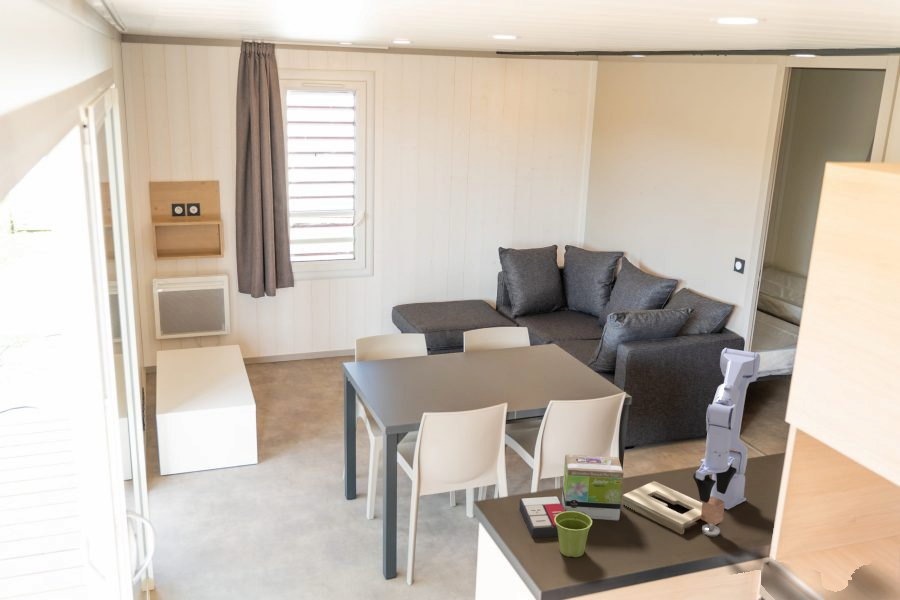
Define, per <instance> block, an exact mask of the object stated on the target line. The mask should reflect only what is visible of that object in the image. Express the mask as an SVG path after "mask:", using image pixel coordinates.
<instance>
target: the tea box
mask: <svg viewBox="0 0 900 600" xmlns="http://www.w3.org/2000/svg"><path fill="white" fill-rule="evenodd" d="M563 466H564V467H563V481H562V491H561V492H562V495H561V504H562V506H563V508H564V510H565V511H575V512H580V513H583V514H585V515H587V516H589V517H590V518H591V520H593V519H594V520H606V521H607V520H608V521H617V522H618V521H620V516H621V508H622V507H621V506H622V497H623V484H624V483H623V482H624V471H623V468H622V464H621V462H620V459H619V457H617V456H601V455H600V456H599V455H583V454H582V455H581V454H580V455H579V454H565V456H564V465H563Z"/></svg>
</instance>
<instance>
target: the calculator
mask: <svg viewBox="0 0 900 600" xmlns="http://www.w3.org/2000/svg"><path fill="white" fill-rule="evenodd" d="M519 512H521V513H520V515H521V514H522V515H521V516H523V517H522V518H523V520H524V524H525V525H527V526H526V528H527V530H528V532H529V534H530V537H531V538H534V539H535V538H548V537H549V538H551V537H558V529H557V526H556V524H555V521H554V518H555V516H556V515H557V514H559V513H562V512H566V511H565V510H564V508H563V503H562V501H561V500H560V498H559V497H558V496H543V497H529V498H528V497H526V498H520V499H519Z"/></svg>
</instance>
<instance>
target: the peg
mask: <svg viewBox="0 0 900 600" xmlns="http://www.w3.org/2000/svg"><path fill="white" fill-rule="evenodd" d="M701 503H702V511H701V518H700V520H702V521H703V522H706V524H704V525H702V527H701V533H702V534H703V535H705V536H707V537H711V538H716V536H717V537H719V536H718V535H720V527H718V526H717V524H719V523H721V522H723V521H724V516H725V515H724V514H725V508H724V505H725V502H724V501H722V500H720V499H718V498H715V497H713V496H710V499H709V502H708V503H706V502H703V501H701Z"/></svg>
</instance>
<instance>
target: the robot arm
mask: <svg viewBox="0 0 900 600" xmlns="http://www.w3.org/2000/svg"><path fill="white" fill-rule="evenodd" d="M719 360H720V361H719V367H720V370H721V371H720V372H721V373H722V376H723V377H724V380H723V383H721V384H720V385H718V387H717V388H716V392H715V395H714V398H713V401H712V404H711V403H709V404H708V407H707V408H706V409H707V410H706V414H705V415H706V417H705V418H706V419H705V422H706V428H705V429H706V433H707V435H706V441H705V442H706V443H705V453H704V458H702V459H701V460H700V463H701V465H700V467H699V468H698V469H697V470H695V472H694V473H693V475H692V476H693V477H692V478H693V480H694V482H695V484H696V487H697V491H698V497H699V500H700V502H702V501H703V502H706V503H708V502H709V499H710V496H713V497H715V498H718V499H720V500H722V501H724V502H725V505H724V510H725V509H726V510H730V509H732V508H735V506H737V505H740V504H742V503H743V502H746V500H747V498H746V497H744V496H745V495H744V494H745V486H746V476H745V473H746V470H747V464H748V452H749V450H748V447H747V446H746V445H745V444H744V443H743V442H742V441H741V440H740V434H741V428H742V421H743V420H742V419H743V413H744V410H745V407H744V406H745V401H746V395H747V390H748V387H749V384H750V383H753V382H756V381H757V379H758V377H759V376H758V375H759V370H760V369H759V368H760V365H761V354H760V353H759V352H758V351H757V352H753V351H746V350H739V349H733V348H729V347H724V349H722V351H721V354H720V358H719ZM711 475H712V476H711Z"/></svg>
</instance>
